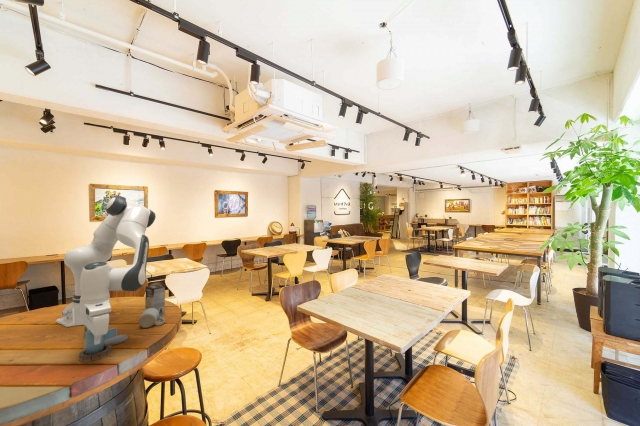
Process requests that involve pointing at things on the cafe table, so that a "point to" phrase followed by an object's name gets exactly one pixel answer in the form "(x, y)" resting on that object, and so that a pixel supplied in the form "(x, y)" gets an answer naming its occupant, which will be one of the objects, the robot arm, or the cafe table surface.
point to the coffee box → (155, 298)
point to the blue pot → (92, 348)
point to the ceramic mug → (150, 318)
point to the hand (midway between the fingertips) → (94, 341)
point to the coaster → (116, 340)
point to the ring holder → (96, 356)
